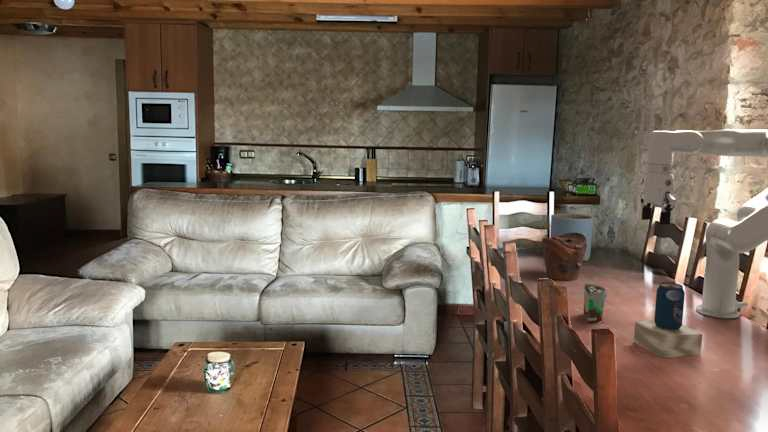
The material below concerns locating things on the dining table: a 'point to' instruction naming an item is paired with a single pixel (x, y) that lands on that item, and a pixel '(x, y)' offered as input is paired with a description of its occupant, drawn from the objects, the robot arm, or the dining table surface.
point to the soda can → (669, 306)
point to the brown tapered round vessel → (564, 255)
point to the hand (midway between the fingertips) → (655, 221)
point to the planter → (573, 227)
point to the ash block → (667, 340)
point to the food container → (594, 302)
